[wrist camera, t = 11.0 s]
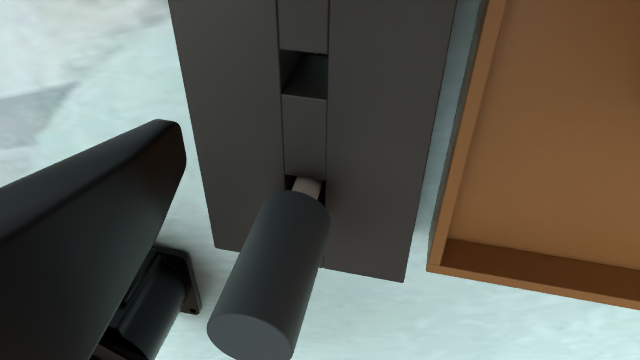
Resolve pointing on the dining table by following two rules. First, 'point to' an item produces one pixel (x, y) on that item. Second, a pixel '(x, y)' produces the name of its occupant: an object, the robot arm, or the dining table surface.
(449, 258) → the tray
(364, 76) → the rack
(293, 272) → the screwdriver
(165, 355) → the dining table surface
